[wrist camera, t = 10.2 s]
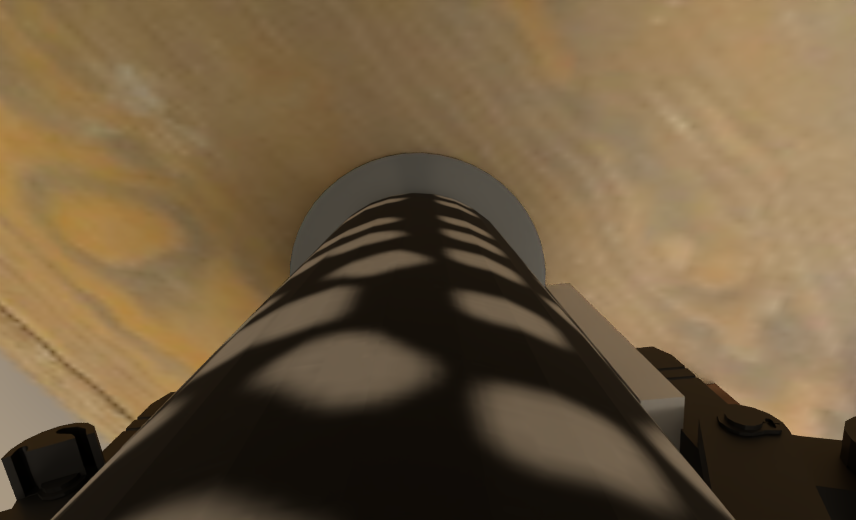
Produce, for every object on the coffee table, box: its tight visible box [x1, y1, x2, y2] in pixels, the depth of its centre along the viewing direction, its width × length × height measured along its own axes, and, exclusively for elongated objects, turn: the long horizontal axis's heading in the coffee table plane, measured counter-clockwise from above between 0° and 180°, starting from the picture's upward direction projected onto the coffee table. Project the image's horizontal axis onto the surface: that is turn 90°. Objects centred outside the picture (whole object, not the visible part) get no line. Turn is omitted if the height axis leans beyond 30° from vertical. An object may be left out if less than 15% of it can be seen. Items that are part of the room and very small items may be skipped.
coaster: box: [290, 153, 546, 287], centre depth 20 cm, size 11×11×1 cm
